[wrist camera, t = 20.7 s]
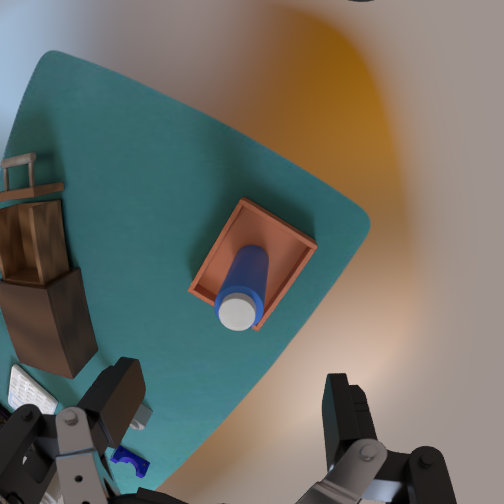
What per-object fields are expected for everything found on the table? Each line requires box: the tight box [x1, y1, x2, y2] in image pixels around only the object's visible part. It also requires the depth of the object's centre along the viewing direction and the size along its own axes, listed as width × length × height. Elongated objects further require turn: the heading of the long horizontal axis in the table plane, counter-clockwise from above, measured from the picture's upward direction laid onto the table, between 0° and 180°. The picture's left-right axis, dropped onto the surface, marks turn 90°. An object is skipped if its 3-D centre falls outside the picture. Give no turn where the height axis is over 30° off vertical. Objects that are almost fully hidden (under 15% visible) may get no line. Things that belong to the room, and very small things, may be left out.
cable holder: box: [110, 445, 150, 478], centre depth 53 cm, size 8×4×4 cm, turn 53°
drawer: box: [0, 152, 70, 287], centre depth 36 cm, size 18×11×7 cm, turn 0°
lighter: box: [129, 403, 153, 430], centre depth 45 cm, size 7×2×8 cm, turn 49°
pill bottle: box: [214, 245, 269, 331], centre depth 32 cm, size 4×4×14 cm
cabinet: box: [0, 267, 98, 379], centre depth 40 cm, size 15×13×9 cm
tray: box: [188, 196, 318, 331], centre depth 38 cm, size 13×10×3 cm
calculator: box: [8, 364, 58, 415], centre depth 53 cm, size 13×20×2 cm, turn 143°
